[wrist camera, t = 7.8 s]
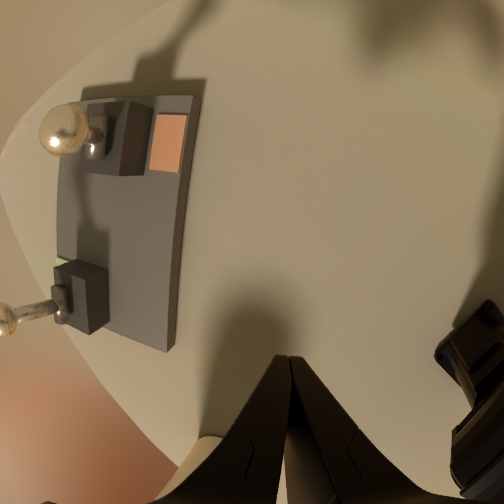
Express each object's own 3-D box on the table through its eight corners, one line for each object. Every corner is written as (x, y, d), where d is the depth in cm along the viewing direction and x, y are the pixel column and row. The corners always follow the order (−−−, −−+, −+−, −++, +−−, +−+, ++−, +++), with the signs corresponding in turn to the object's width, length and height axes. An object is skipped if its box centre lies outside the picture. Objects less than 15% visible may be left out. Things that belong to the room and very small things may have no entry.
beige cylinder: (183, 425, 28) (113, 529, 14) (243, 431, 26) (186, 557, 12) (201, 463, 29) (148, 558, 15) (256, 469, 27) (214, 578, 13)
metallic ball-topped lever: (72, 291, 20) (-13, 313, 14) (75, 325, 21) (-4, 349, 15) (60, 280, 22) (-18, 298, 15) (63, 311, 22) (-11, 332, 16)
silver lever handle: (121, 116, 17) (83, 94, 10) (115, 160, 18) (73, 162, 11) (86, 115, 16) (35, 97, 9) (80, 158, 17) (26, 161, 10)
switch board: (201, 100, 20) (172, 84, 16) (174, 344, 25) (149, 371, 21) (79, 104, 22) (44, 98, 18) (70, 302, 28) (41, 318, 23)
